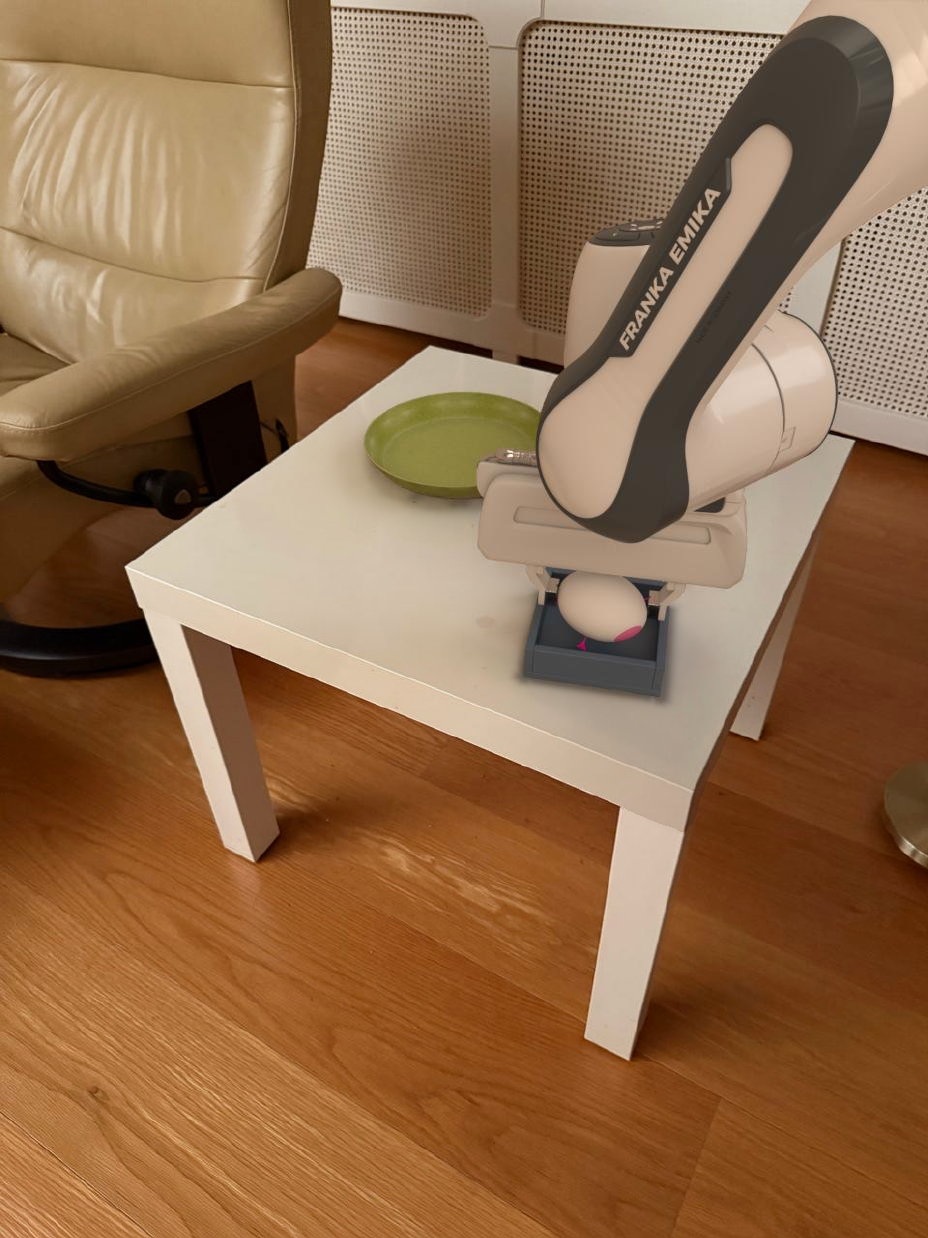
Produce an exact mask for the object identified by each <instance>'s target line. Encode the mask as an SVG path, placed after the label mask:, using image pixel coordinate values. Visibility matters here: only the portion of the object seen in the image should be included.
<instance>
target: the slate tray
mask: <svg viewBox="0 0 928 1238" xmlns="http://www.w3.org/2000/svg"><path fill="white" fill-rule="evenodd" d="M545 569H546V571H547V573H548V575H549V576H550V578H556V579H560V580H559V586H560V584H561V583H562V581H563V580H564V579H565V578H566V577H567V576H569V575H570V574H572V573H574V572H576V570H568V569H560V568H552V567H545ZM622 577H624V578H625V579H627V580H628V581H629V582H631V583H632V584H633V585H634V586H635V587H636V588H637V589H638V590H639V592H640V593H641V595H642V597H643V599H646V598H649V591H650V590H652V591H660V590H661V589H662V588H663V587H664V586H665V585H666V584H667V582H666V581H658V580H650V579H642V578H634V577H625V576H622ZM558 589H559V588H558ZM538 597H539V593H538V595H537V598H536V603H535V607H534V611H533V614H532V618H531V622H530V626H529V630H528V634H527V638H526V642H525V645H524V653H523V654H524V656H523V657H524V658H523V677H525V678H531V679H539V680H546V681H552V682H559V683H565V684H573V685H579V686H584V687H585V686H586V687H592V688H600V689H606V690H614V691H619V692H627V693H634V694H641V695H645V696H654V697H660V696H661V692H662V685H663V681H664V676H665V671H666V662H667V661H666V659H667V646H668V633H669V619H670V606H671V605H669V606H667V609H666V614H665V619H664V621H661V620H654V619H648V618H646V622H645V624H644V626H643V628H642V629H641V630H640V632H639V633H638V634H636V635H635V636H633V637H632V638H630V639H627V640H624V641H620V642H602V641H597V640H594V639H591V638H589V637H586V636H584V635H582V634H580V633H579V632H577V631H576V630H575V629H573V628H572V627H571V626H570V625H569V624H568V623H567V622H566V620H565V619H564V618H563V616H562V614H561V612H560V610H559V607H558V604H556V607H554V606H545V605H539V604H538ZM645 604H646V608H647V604H648V599H646V600H645ZM585 637H586V638H585ZM584 639H585V649H586V651H587V652H586V651H584V650H583V649H580V648H578V647H576V646H577V645H579V644H580V643H581V642H582V641H583V640H584Z"/></svg>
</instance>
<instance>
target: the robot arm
mask: <svg viewBox="0 0 928 1238" xmlns="http://www.w3.org/2000/svg"><path fill="white" fill-rule="evenodd" d="M927 187H928V0H810V1H809V2H808V3H807V5H806V6H805V8H804V9H803V10H802V11H801V13H800V14H799V15H798V17H797V18H796V20H795V21H794V22H793V23H792V25H791V26H790V28H789V29H788V31H786V33H785V34H784V36H783V37H782V39H780V40H779V42H778V43H776V45H775V46H774V47H773V48H772V50H771V51H770V52H769V54H768V55H767V56H766V58H765V59H764V60H763V61H762V63H761V64H760V65H759V67H758V68H757V69H756V71H755V72H754V73H753V74H752V76H751V78H750V79H749V80H748V81H747V83H746V84H745V85H744V87H743V88H742V90H741V91H740V92H739V94H738V95H737V97H736V98H735V99H734V101H733V102H732V104H731V106H730V107H729V109H728V110H727V112H726V113H725V115H724V116H723V118H722V119H721V121H720V122H719V124H718V126H717V128H716V129H715V131H714V132H713V134H712V136H711V137H710V139H709V140H708V143H707V144H706V146H705V147H704V149H703V151H702V153H701V155H700V156H699V158H698V160H697V161H696V163H695V164H694V166H693V168H692V170H691V172H690V174H689V175H688V177H687V179H686V180H685V182H684V184H683V185H682V188H681V189H680V191H679V193H678V195H677V196H676V198H675V200H674V201H673V203H672V205H671V207H670V209H669V210H668V212H667V214H666V216H665V218H653V219H644V220H639V219H638V220H634V221H631V222H630V221H629V222H626V223H621V224H618V225H614V226H611V227H608V228H605V229H601V230H599V231H598V232H596V233H595V235H593V236H591V237H590V238H589V239H588V240H587V241H586V242H585V244H584V246H583V248H582V249H581V252H580V253H579V256H578V260H577V262H576V266H575V269H574V272H573V277H572V282H571V287H570V292H569V299H568V304H567V305H568V306H567V307H568V308H567V314H566V322H565V332H564V348H563V368H564V369H563V370H561V372H559V374H558V375H557V376H556V378H555V379H554V380H553V382H552V383H551V386H550V388H549V390H548V392H547V394H546V397H545V399H544V402H543V405H542V407H541V410H540V412H541V414H540V418H539V422H538V428H537V434H536V451H523V450H522V451H521V450H515V449H513V448H497V450H496V452H492V453H488V454H486V455H484V456H483V457H482V458H481V459H480V460H479V462H478V464H477V468H476V484H477V488H478V491H479V493H480V494H481V496H480V497H482V498H483V502H482V506H481V511H480V517H479V523H478V529H477V530H478V531H477V548H478V550H479V552H481V554H482V556H484V558H485V559H487V560H489V561H496V562H503V563H504V562H505V563H512V564H519V565H525V573H526V575H527V577H528V578H529V579H530V581H531V582H532V584H533V586H534V587H535V588H536V590H538V594H539V597H538V596H537V598H538V604H539V605H545V606H554V607H556V604H557V592H558V588H559V580H560V579H556V578H550V576H549V575H548V573H547V571H546V569H545V567H552V568H560V569H568V570H576V571H585V572H593V573H601V574H609V575H617V576H625V577H634V578H642V579H650V580H658V581H665V582H667V584H666V585H665V586H664V587H663V588H662V589H661V590H660V591H652V590H650V591H649V598H648V604H647V618H648V619H654V620H661V621H664V619H665V614H666V609H667V606H669V605H670V606H671V605H672V604H673V603H674V602H675V601H676V600H677V599H679V598H680V597H681V596H682V595H683V594H684V593H685V590H686V585H691V586H700V587H708V588H714V589H715V588H716V589H724V590H725V589H726V590H729V589H731V588H733V587H734V586H736V585H737V584H738V583H740V582H741V581H742V580H743V577H744V574H745V569H746V562H747V551H748V516H747V515H748V514H747V502H746V501H747V500H746V497H745V488H747V487H749V486H751V485H753V484H755V483H757V482H758V481H760V480H762V479H764V478H767V477H769V476H771V475H774V474H776V473H778V472H780V471H781V470H784V469H786V468H788V467H790V466H791V465H793V464H795V463H798V462H799V461H800V460H803V459H804V458H806V457H808V456H810V455H812V454H813V453H814V452H815V451H816V450H818V448H820V446H821V445H822V444H823V443H824V442H825V440H826V439H827V437H828V435H829V433H830V431H831V429H832V427H833V423H834V421H835V418H836V414H837V409H838V403H839V381H838V373H837V368H836V365H835V362H834V358H833V356H832V354H831V352H830V349H829V348H828V346H827V343H825V341H824V339H823V338H822V337H821V336H820V334H818V332H817V331H816V330H815V329H814V328H813V327H812V326H811V325H810V324H808V322H806V321H805V320H803V319H802V318H800V317H798V316H796V315H794V314H792V313H788V312H785V311H781V310H778V308H779V307H780V305H781V303H782V302H783V301H784V300H785V298H786V297H787V296H788V294H789V293H790V292H791V290H792V289H793V288H794V286H795V285H796V284H797V283H799V281H800V280H801V278H802V277H804V275H805V274H806V273H807V272H808V270H810V269H811V268H812V267H813V266H814V265H815V264H816V263H817V262H818V261H819V260H820V259H821V258H822V257H824V255H825V254H826V253H828V252H829V251H830V250H831V249H833V248H834V247H835V246H836V245H838V244H839V243H840V242H841V241H843V240H844V239H845V238H847V237H848V236H849V235H851V234H852V233H853V232H855V231H856V230H858V229H859V228H860V227H861V226H863V225H865V224H866V223H868V222H869V221H871V220H872V219H874V218H876V217H877V216H878V215H880V214H881V213H883V212H885V211H887V210H888V209H890V208H892V207H893V206H895V205H897V204H898V203H900V202H902V201H903V200H905V199H907V198H908V197H910V196H912V195H914V194H916V193H917V192H919V191H920V190H923V189H924V188H927ZM495 457H496V459H492V458H495Z"/></svg>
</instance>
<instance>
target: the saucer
mask: <svg viewBox="0 0 928 1238" xmlns="http://www.w3.org/2000/svg"><path fill="white" fill-rule="evenodd" d="M540 414H541V411H540V410H538V409H537V408H535V407H533V406H531V405H530V404H528V403H526V402H523V401H521V400H519V399H515V398H512V397H509V396H505V395H501V394H495V393H489V392H482V391H481V392H480V391H479V392H477V391H449V392H441V393H434V394H428V395H424V396H419V397H415V398H412V399H411V398H410V399H409V400H406V401H403V402H401V403H398V404H396V405H394V406H391V407H390V408H389V409H386V410H385V411H384V412H382V413H381V414H379V415H378V416H377V417H376V418H375V419H373V421H371V423H370V424H369V425H368V426H367V428H366V431H365V433H364V435H363V448H364V452H365V454H366V455H367V457H368V459H369V460H370V461H371V463H372V464H373V465H374V466H375V467H376V468H377V469H378V470H379V471H380V472H381V473H382V474H383V475H384V476H386V477H387V478H388V479H389V480H391V481H393V482H394V483H396V484H398V485H399V486H401V487H403V488H405V489H407V490H409V491H412V492H415V493H417V494H421V495H425V496H430V497H435V498H442V499H471V498H477V497H479V498H480V497H482V496H481V494H480V493H479V491H478V488H477V484H476V468H477V464H478V462H479V460H480V459H481V458H482V457H483V456H484V455H486V454H488V453H492V452H496V450H497V448H513V449H515V450H521V451H522V450H523V451H536V434H537V428H538V422H539V418H540ZM492 459H496V457H495V458H492Z"/></svg>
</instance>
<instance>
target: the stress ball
mask: <svg viewBox="0 0 928 1238" xmlns="http://www.w3.org/2000/svg"><path fill="white" fill-rule="evenodd" d="M646 599H648V598H646ZM646 599H643V597H642V595H641V593H640V592H639V590H638V589H637V588H636V587H635V586H634V585H633V584H632V583H631V582H629V581H628V580H627V579H625V578H624V577H622V576H617V575H609V574H601V573H593V572H585V571H576V572H574V573H572V574H570V575H569V576H567V577H566V578H565V579H564V580H563V581H562V583H561V584H560V586H559V589H558V592H557V604H558V607H559V610H560V612H561V614H562V616H563V618H564V619H565V620H566V622H567V623H568V624H569V625H570V626H571V627H572V628H573V629H575V630H576V631H577V632H579V633H580V634H582V635H584V636H586V637H589V638H591V639H594V640H597V641H602V642H620V641H624V640H627V639H630V638H632V637H633V636H635V635H636V634H638V633H639V632H640V630H641V629H642V628H643V626H644V624H645V622H646V618H647V608H646V604H645V600H646ZM586 637H585V638H586ZM576 647H578V648H580V649H583V650H584V651H586V649H585V639H584V640H583V641H582V642H581V643H580V644H579V645H577V646H576ZM586 652H587V651H586Z"/></svg>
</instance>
